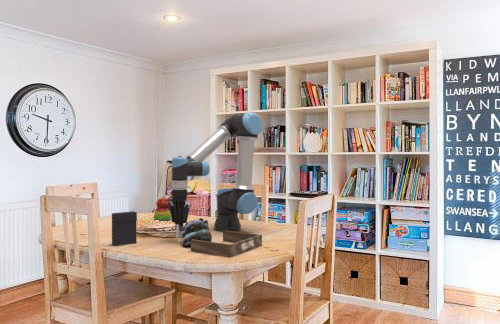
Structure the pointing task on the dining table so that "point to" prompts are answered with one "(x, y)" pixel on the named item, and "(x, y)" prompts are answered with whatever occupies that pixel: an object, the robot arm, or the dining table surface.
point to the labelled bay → (239, 246)
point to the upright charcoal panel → (124, 228)
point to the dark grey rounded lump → (195, 231)
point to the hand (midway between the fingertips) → (179, 237)
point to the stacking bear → (162, 210)
